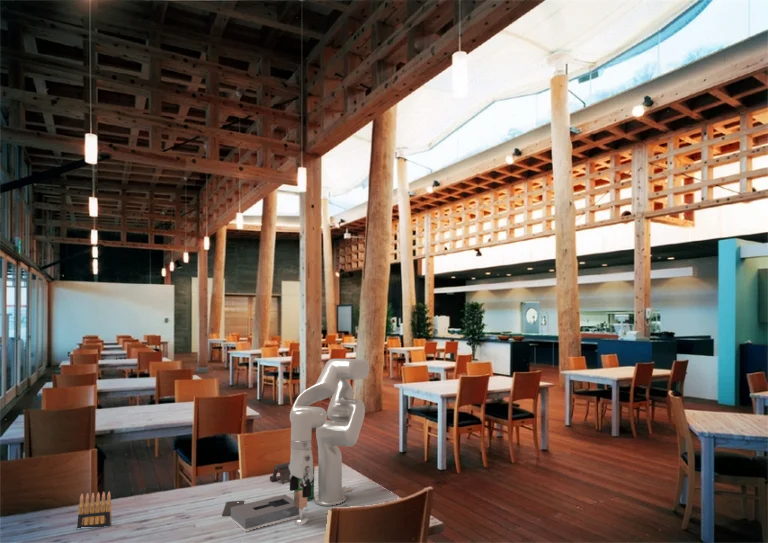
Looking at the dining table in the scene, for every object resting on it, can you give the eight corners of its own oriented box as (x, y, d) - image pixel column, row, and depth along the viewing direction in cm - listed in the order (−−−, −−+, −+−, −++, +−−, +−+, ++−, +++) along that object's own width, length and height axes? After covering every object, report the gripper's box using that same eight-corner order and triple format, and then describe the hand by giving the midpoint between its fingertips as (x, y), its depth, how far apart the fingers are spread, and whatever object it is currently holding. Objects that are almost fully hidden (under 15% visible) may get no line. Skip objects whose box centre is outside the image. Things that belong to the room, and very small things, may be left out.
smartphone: (226, 503, 208) (221, 517, 193) (226, 501, 208) (221, 515, 193) (245, 502, 209) (241, 516, 195) (245, 500, 209) (241, 513, 195)
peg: (303, 519, 190) (303, 489, 191) (309, 523, 186) (309, 492, 187) (292, 522, 187) (293, 491, 188) (298, 526, 184) (298, 494, 185)
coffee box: (310, 497, 213) (311, 464, 215) (314, 498, 211) (314, 465, 212) (293, 501, 208) (293, 468, 210) (297, 503, 206) (297, 469, 207)
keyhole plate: (285, 506, 204) (285, 494, 204) (301, 516, 192) (301, 504, 193) (230, 519, 190) (230, 507, 191) (245, 532, 179) (245, 518, 180)
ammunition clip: (111, 524, 187) (112, 490, 188) (110, 526, 185) (111, 491, 186) (78, 527, 185) (79, 492, 186) (76, 529, 183) (78, 494, 184)
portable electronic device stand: (287, 477, 240) (287, 458, 241) (295, 481, 234) (295, 462, 235) (269, 481, 235) (269, 462, 235) (278, 485, 229) (278, 466, 229)
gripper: (322, 447, 184) (321, 497, 182) (299, 439, 198) (298, 485, 196) (303, 450, 180) (302, 501, 178) (281, 441, 193) (280, 489, 192)
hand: (300, 493), depth 187 cm, fingers open, 9 cm apart
